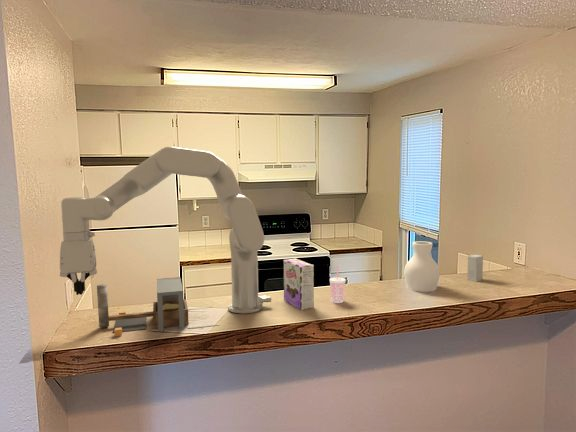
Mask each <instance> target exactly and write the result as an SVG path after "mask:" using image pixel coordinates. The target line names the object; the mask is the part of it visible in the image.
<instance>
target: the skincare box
mask: <svg viewBox="0 0 576 432" xmlns="http://www.w3.org/2000/svg"><path fill="white" fill-rule="evenodd" d="M483 267H484V256H483V255H481V254H475V253H474V254H471V255H468V256H467V268H466V269H467V273H466V275H467V279H466V280H467V281H470V282H476V283H477V282H480V281H482V280H483V277H484V276H483V273H484V272H483V271H484V269H483Z"/></svg>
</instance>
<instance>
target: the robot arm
mask: <svg viewBox="0 0 576 432" xmlns="http://www.w3.org/2000/svg"><path fill="white" fill-rule="evenodd" d="M171 175H179V176H180V175H182V176H189V177H199V178H206V179H207V180H208V181H209V182H210V183H211V185H212V188H213V190H214V192H215V194H216V198H217V200H218V203H219V206H220V210H221V212H222V215H223V217H224V218H225V219H226V220H228V221H229V222H230V225H231V229H230V231H229V237H228V238H229V239H228V240H229V248H230V249H229V250H230V263H231V300H232V301H231V302H230V303H229V304H228V305H227V309H228V311H229V312H231V313H235V314H252V313H257V312H259V311H261V310H262V309H263V308H264V306H263V304H264V303H271V302H272V297H271V296H267V295H262V296H261V295H259V262H258V261H259V260H258V259H259V258H258V257H259V256H258V251H260V250H261V249H262V247H263V246H264V243H265V235H264V230H263V227H262V223H261V221H260V218H259V215H258V212H257V210H256V207H255V205H254V203H253V202H252V200H251V199H250V198H249V197H247V196H245V195H244V194H243V192H242V189H241V187H240V184H239V183H238V179H237V178H236V177H237V176H236V175H235V172H234V171H233V169H232V168H231V167H230V166H229V164H228V163H226V162H225V161H224V160H223V159H221V158H220V157H218V156H216V154H214V153H213V152H211V151H207V150H199V149H189V148H184V147H183V148H182V147H177V146H169V145H168V146H165V147H163V148H161V149H160V150H158V151H156V152H155V153H154V154H152V155H151V156H150V157H148V158H147V159H145V160H143V161H142V162H140V163H139V164H138V165H137V166H135V167H133V168H132V169H131V170H130V171H128V172H127V173H126V174H124V175H123V177H121V178H119V180H117V181H116V182H115V183H113V184H112V185H111V186H109V187H107V188H106V189H104V190H103V191H102V192H100V193H99V194H98V195H96V196H94V197H91V198H90V197H89V198H85V197H82V196H81V197H78V196H77V197H76V196H75V197H74V196H73V197H64V198H63V199H62V200H61V204H60V205H61V207H60V208H61V222H62V237H63V238H62V239H63V240H62V241H61V242H60V247H59V248H60V249H59V270H60V271H59V277H62V278H68V279H69V280H70V281H71V282H72V283H73V292H74V293H76V294H75V295H76V296H78V295H80V296H82V295H83V294H84V292H85V291H86V282H85V281H86V280H87V279H88V278H89V277H91V276H95V275H97V274H98V269H97V257H96V249H95V244H94V240H93V239H92V238H93V237H95V231H94V232H92V231H91V230H90V221H100V222H101V221H106V220H108V219H109V218H111V217H112V216H113V215H114V213H115V212H116V211H118V210H119V209H120V208H122V207H123V206H125V204H127V203H129V202H130V201H131V200H134V199H135V198H137V197H140V196H142V195H144V194H146V193H147V192H149V191H151V190H152V189H153V188H155V187H156V186H158V184H160V183H161V182H163V181H164V180H166V179H167V178H168V177H170V176H171ZM78 273H79V274H80V279H79V278H78Z"/></svg>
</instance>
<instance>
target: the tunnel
mask: <svg viewBox="0 0 576 432" xmlns="http://www.w3.org/2000/svg"><path fill="white" fill-rule="evenodd" d="M156 297H157V298H156V302H157V304H158V332H164V327H163V305H162V301H172V300H179V325H178V326H179V330H185V325H184V300H183V299H184V289H183V283H182V278H181V277H180V276H179V277H178V276H177V277H168V278H167V277H165V278H157V279H156ZM201 308H202V309H210V308H213V306H204V307H196V308H195V307H193V308H188V311H191V309H193V310H201ZM122 314H127V311H126V310H119V311H118V315H122ZM147 318H148V317H143V318H133V319H123V320H114V321H115V322H114V325H113V329H112V332H111V333H112V334H114V337H122V335H123V332H125V333H126V332H132V331H141V330H146V329H147ZM217 326H220V324H219V323H215V324H206V325H204V324H203V325H196V326H195V325H194V326H188V327H187V330H191V329H199V328H208V327H217Z"/></svg>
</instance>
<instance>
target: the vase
mask: <svg viewBox="0 0 576 432" xmlns="http://www.w3.org/2000/svg"><path fill="white" fill-rule="evenodd" d="M411 243H412V244H411V245H412V249H413V255H412V257H411V258H410V259H409V260H408V261H407V263H406V264H405V266H404V270H403V271H404V272H403V273H404V275H403V276H404V280H405V284H406V285H405V286H406V288H407V289H408V290H411V291H414V292H420V293H421V292H422V293H424V292H426V293H429V292H434V291H436V290H437V287H438V285H439V280H440V274H441V273H440V272H441V270H440V266H439V264H438V263H437V262H436V261H435V259H434V258H433V256H432V253H431V251H432V249H433V242H431V241H425V240H424V241H421V240H418V241H417V240H416V241H413V242H411Z"/></svg>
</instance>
